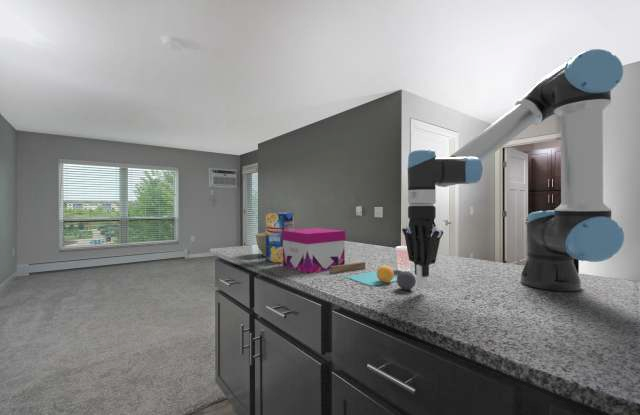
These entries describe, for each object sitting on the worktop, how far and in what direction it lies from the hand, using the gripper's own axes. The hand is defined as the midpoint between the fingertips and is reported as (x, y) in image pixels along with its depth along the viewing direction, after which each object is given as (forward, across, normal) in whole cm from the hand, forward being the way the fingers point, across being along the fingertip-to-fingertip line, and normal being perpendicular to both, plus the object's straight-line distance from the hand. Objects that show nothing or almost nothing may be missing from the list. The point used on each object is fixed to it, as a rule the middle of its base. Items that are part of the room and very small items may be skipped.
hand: (421, 287), depth 88 cm
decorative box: (+2, -50, -7) cm, 51 cm away
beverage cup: (+2, -25, +19) cm, 31 cm away
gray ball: (-1, -6, 0) cm, 6 cm away
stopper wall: (+2, -36, 0) cm, 36 cm away
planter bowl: (+2, -86, -11) cm, 87 cm away
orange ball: (-1, -15, 0) cm, 15 cm away
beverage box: (+2, -69, -14) cm, 70 cm away
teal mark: (+2, -21, 0) cm, 21 cm away
